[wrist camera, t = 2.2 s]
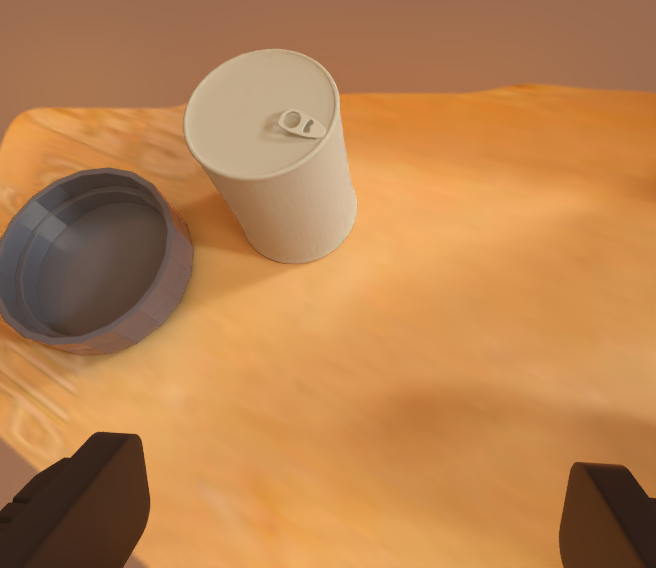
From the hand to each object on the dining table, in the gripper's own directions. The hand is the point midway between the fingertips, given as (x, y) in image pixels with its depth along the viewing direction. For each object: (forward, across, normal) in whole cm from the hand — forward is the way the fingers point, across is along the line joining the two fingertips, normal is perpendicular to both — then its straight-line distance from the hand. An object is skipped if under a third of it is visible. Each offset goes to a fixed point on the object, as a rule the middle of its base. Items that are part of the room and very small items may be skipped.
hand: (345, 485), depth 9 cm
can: (+30, +6, 0) cm, 31 cm away
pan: (+27, +20, +4) cm, 34 cm away
